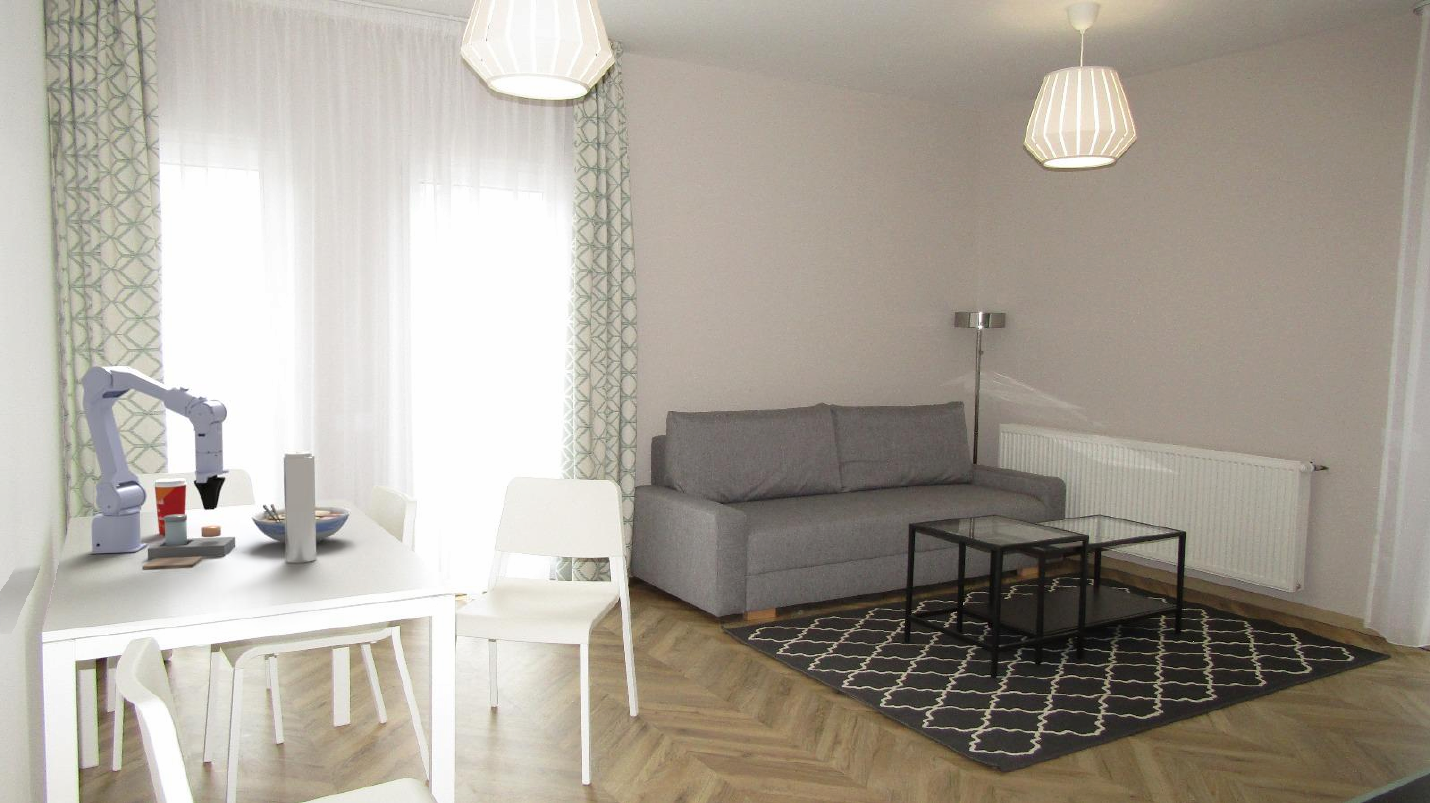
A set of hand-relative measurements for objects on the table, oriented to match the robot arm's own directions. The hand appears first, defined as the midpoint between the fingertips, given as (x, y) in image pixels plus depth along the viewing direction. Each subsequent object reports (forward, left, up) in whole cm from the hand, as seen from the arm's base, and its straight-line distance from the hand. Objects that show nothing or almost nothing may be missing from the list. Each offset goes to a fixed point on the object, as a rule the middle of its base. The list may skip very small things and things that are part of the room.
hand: (210, 508), depth 221 cm
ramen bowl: (+19, +7, -11) cm, 23 cm away
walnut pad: (-5, -11, -10) cm, 16 cm away
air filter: (+22, -13, -11) cm, 28 cm away
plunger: (0, 0, -6) cm, 6 cm away
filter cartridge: (-7, 0, -10) cm, 13 cm away
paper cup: (-16, +26, -11) cm, 32 cm away
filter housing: (-4, 0, -10) cm, 11 cm away
